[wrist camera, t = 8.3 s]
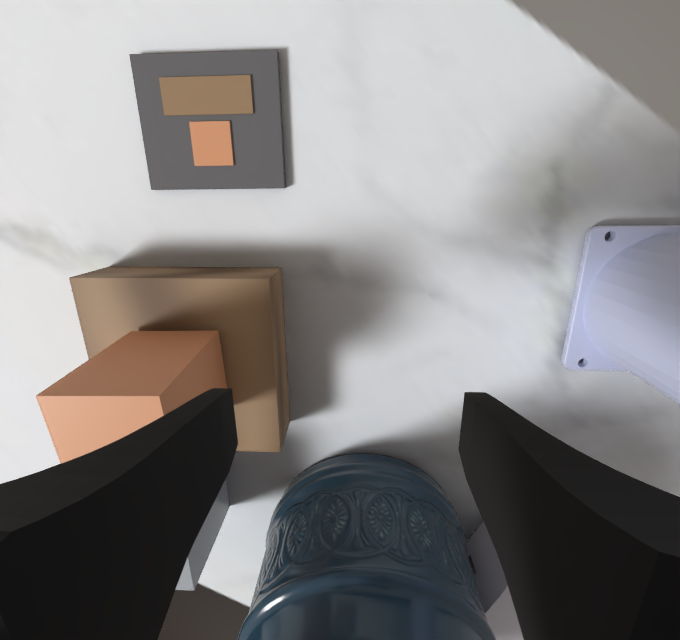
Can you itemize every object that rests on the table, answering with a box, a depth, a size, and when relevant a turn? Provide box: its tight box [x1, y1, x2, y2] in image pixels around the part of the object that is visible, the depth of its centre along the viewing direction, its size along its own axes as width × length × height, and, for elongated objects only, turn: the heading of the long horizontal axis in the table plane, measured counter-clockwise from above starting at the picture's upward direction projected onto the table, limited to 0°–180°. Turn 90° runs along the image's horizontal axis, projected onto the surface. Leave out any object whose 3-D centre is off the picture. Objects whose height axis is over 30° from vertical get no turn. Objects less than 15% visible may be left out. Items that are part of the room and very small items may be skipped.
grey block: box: [175, 479, 230, 590], centre depth 23 cm, size 4×4×6 cm
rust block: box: [36, 330, 227, 463], centre depth 17 cm, size 4×4×6 cm
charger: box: [466, 521, 524, 640], centre depth 25 cm, size 5×9×15 cm
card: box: [130, 50, 286, 190], centre depth 18 cm, size 7×6×1 cm
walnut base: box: [69, 267, 290, 452], centre depth 21 cm, size 10×10×4 cm
